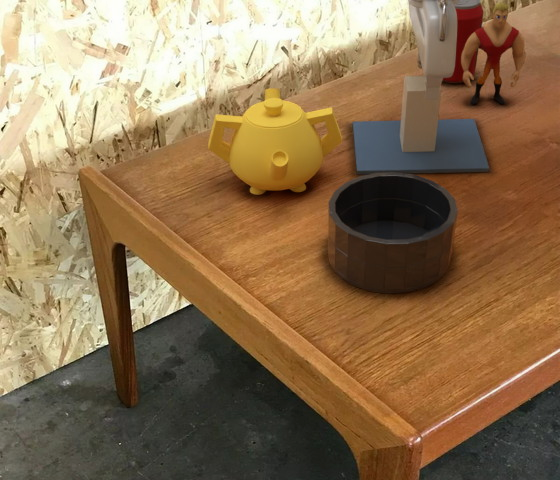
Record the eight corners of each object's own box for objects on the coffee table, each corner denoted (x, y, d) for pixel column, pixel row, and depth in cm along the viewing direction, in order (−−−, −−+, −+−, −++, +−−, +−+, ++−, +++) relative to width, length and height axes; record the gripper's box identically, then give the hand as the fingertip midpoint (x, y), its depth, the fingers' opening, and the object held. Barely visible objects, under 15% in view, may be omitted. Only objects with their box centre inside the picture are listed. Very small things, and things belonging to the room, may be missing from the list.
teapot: (350, 215, 102) (352, 135, 94) (211, 223, 102) (202, 144, 94) (333, 138, 116) (334, 63, 108) (212, 145, 116) (204, 71, 108)
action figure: (457, 107, 122) (470, 6, 111) (454, 96, 124) (467, -4, 114) (519, 106, 121) (538, 5, 110) (516, 95, 124) (534, -5, 113)
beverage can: (482, 75, 129) (494, -2, 121) (458, 89, 126) (468, 11, 117) (448, 63, 133) (456, -12, 124) (423, 77, 129) (431, 1, 121)
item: (430, 135, 115) (437, 75, 108) (434, 151, 111) (441, 90, 105) (399, 136, 115) (404, 76, 108) (402, 152, 112) (407, 91, 105)
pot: (442, 219, 101) (448, 171, 96) (457, 292, 90) (465, 242, 85) (327, 221, 101) (327, 173, 96) (329, 294, 91) (330, 244, 86)
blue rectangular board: (473, 122, 118) (474, 118, 118) (489, 172, 108) (489, 168, 108) (352, 125, 119) (352, 121, 119) (356, 174, 109) (357, 170, 109)
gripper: (474, 2, 89) (462, 117, 99) (451, -56, 104) (442, 49, 113) (417, 5, 90) (411, 119, 99) (402, -54, 104) (397, 51, 114)
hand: (427, 81), depth 107 cm, fingers open, 8 cm apart
